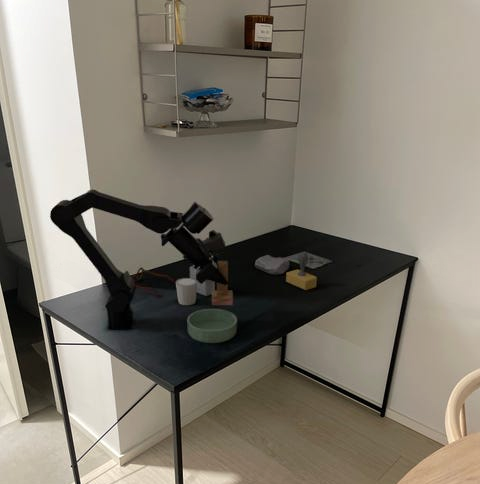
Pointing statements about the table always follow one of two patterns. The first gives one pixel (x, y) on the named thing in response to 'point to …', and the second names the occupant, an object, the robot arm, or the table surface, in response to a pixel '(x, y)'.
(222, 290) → the brown stepped block
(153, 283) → the table surface
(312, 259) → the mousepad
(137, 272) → the glasses
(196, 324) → the bowl
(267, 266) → the stone block
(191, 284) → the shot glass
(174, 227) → the robot arm
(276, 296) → the table surface
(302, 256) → the rubber stamp
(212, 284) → the medicine box
